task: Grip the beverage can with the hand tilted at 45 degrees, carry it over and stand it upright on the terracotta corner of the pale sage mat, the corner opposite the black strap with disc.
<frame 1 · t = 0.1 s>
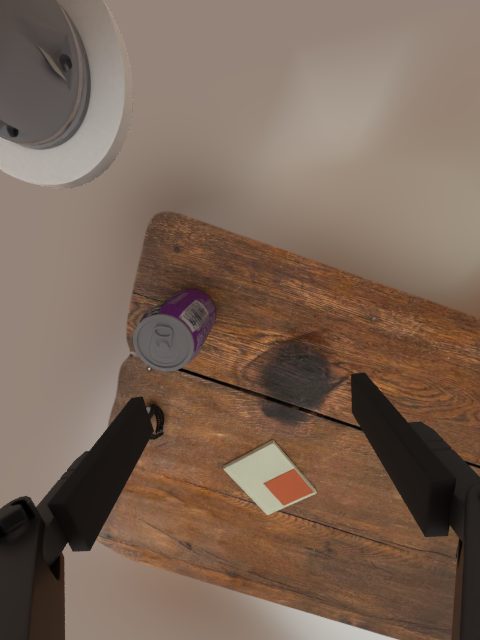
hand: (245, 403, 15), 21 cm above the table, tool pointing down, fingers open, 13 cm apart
beverage can: (193, 311, 35), on the table
mat: (269, 477, 44), on the table
black strap with disc: (156, 411, 41), on the table
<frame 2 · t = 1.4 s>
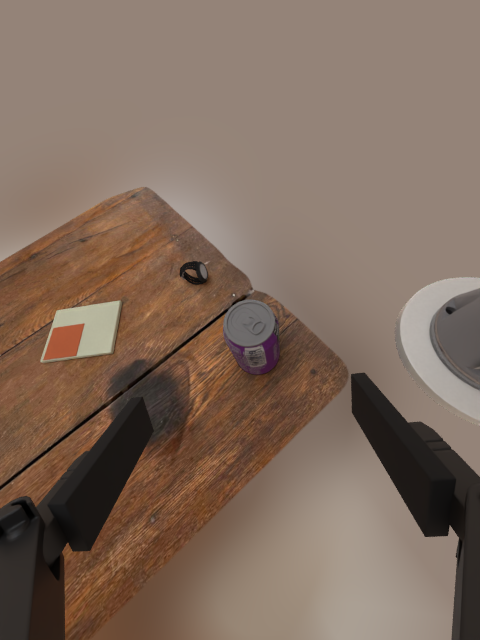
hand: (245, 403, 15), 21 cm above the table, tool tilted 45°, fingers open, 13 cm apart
beverage can: (257, 354, 39), on the table
mat: (84, 331, 46), on the table
black strap with disc: (199, 280, 48), on the table
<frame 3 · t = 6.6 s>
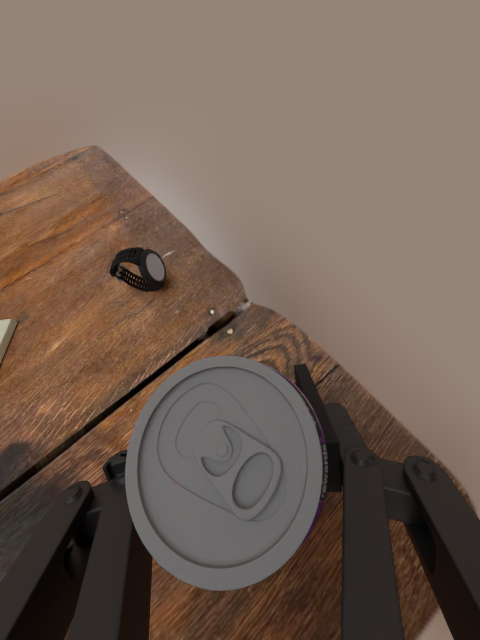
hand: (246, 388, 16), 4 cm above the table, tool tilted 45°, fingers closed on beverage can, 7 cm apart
beverage can: (255, 444, 18), on the table, touching gripper
black strap with disc: (153, 284, 27), on the table
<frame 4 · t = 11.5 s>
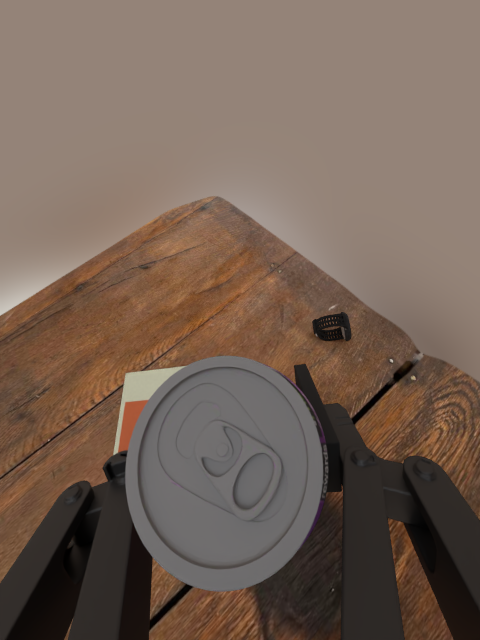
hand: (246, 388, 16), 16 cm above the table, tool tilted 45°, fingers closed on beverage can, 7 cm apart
beverage can: (255, 445, 18), point 12 cm above the table, touching gripper
mat: (170, 408, 32), on the table
black strap with disc: (328, 334, 34), on the table
when the fingers open (4 cm above the table, at t = 16.9 s): beverage can stays where it is, resting on mat.
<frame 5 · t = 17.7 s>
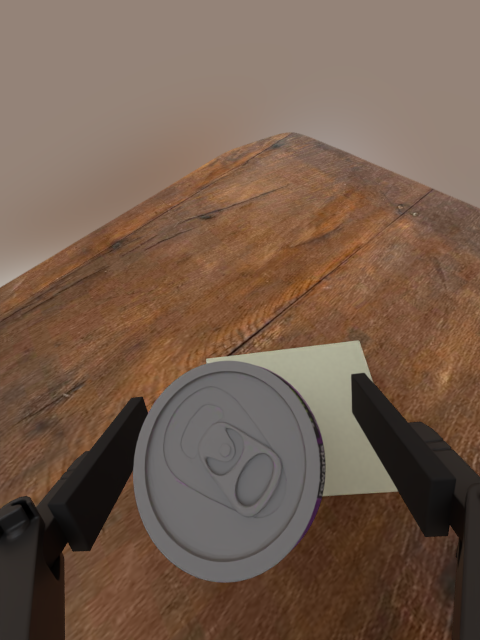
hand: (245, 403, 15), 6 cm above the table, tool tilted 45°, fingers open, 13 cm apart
beverage can: (255, 445, 18), point 1 cm above the table, touching mat
mat: (290, 414, 20), on the table
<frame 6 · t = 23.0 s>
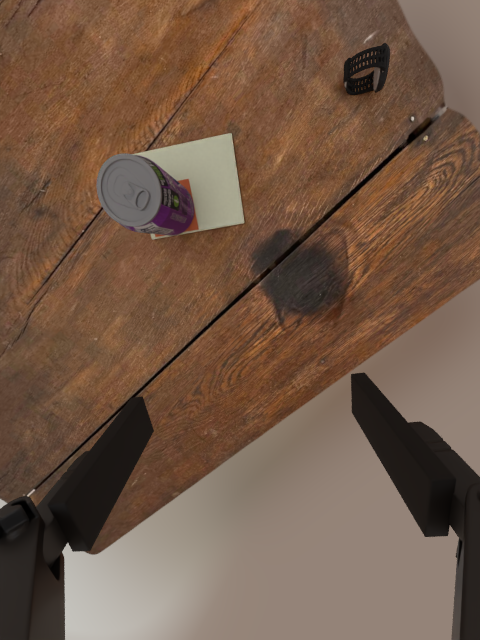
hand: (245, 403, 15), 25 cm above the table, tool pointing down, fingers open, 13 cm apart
beverage can: (171, 209, 34), point 1 cm above the table, touching mat
mat: (190, 190, 34), on the table
black strap with disc: (355, 84, 29), on the table
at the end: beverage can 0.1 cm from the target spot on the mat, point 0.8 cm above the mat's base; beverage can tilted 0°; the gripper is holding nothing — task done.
